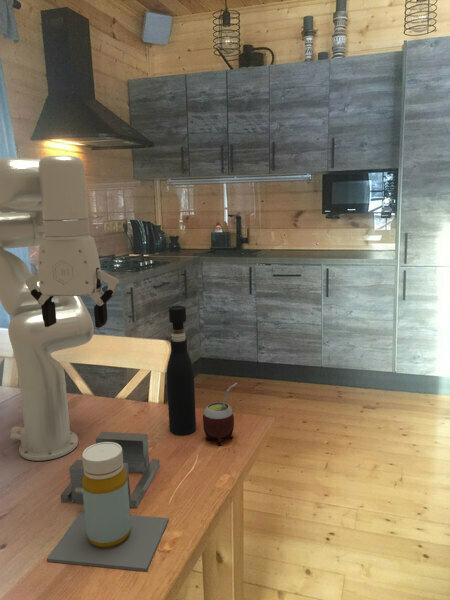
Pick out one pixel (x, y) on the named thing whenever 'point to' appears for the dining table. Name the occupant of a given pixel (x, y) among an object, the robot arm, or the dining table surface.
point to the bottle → (105, 495)
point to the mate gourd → (219, 420)
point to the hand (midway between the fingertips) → (75, 325)
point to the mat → (122, 556)
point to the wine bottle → (180, 378)
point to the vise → (132, 462)
